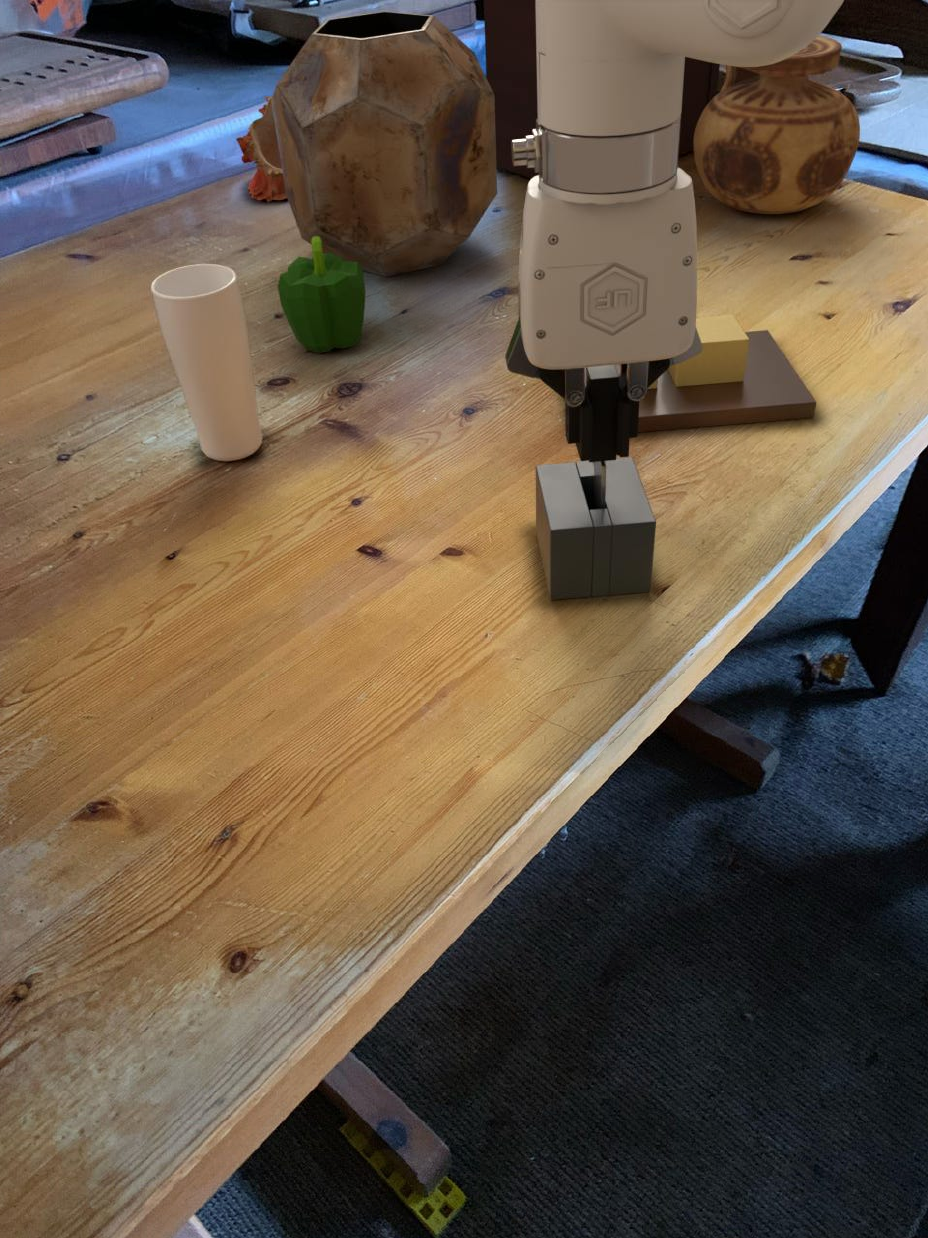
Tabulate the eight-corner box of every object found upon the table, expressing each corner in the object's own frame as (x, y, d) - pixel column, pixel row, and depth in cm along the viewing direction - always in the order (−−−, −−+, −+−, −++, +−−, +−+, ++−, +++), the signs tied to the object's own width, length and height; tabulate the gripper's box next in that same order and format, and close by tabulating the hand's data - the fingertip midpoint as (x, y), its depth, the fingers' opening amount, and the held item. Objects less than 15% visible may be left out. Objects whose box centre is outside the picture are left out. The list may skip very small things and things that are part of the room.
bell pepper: (357, 364, 98) (344, 263, 91) (278, 359, 100) (259, 259, 93) (382, 326, 104) (371, 229, 97) (307, 322, 106) (292, 226, 99)
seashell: (225, 208, 138) (316, 215, 133) (201, 126, 131) (296, 129, 125) (291, 160, 149) (378, 164, 143) (272, 81, 141) (363, 82, 136)
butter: (728, 355, 92) (733, 313, 89) (743, 381, 88) (749, 338, 86) (663, 360, 92) (666, 319, 89) (675, 387, 88) (679, 344, 86)
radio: (711, 147, 142) (743, -167, 119) (575, 196, 130) (581, -142, 107) (614, 122, 153) (626, -169, 130) (481, 165, 141) (468, -147, 118)
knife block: (628, 524, 76) (632, 456, 72) (650, 592, 70) (656, 521, 66) (536, 532, 76) (535, 464, 72) (550, 600, 70) (550, 530, 66)
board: (765, 344, 96) (767, 329, 95) (813, 417, 86) (817, 402, 85) (558, 361, 96) (558, 346, 95) (581, 437, 86) (581, 421, 85)
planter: (532, 236, 120) (530, 8, 105) (403, 313, 106) (378, 61, 90) (391, 206, 131) (369, -6, 115) (256, 271, 117) (212, 40, 101)
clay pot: (892, 167, 123) (895, 5, 107) (801, 268, 119) (790, 115, 103) (760, 137, 134) (745, -15, 118) (673, 228, 130) (645, 85, 114)
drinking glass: (239, 476, 84) (198, 304, 74) (177, 458, 87) (130, 289, 77) (287, 437, 88) (255, 269, 78) (227, 421, 91) (188, 257, 81)
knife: (606, 537, 73) (612, 359, 64) (614, 562, 71) (621, 381, 62) (582, 539, 73) (584, 361, 64) (588, 564, 71) (592, 384, 62)
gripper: (467, 189, 51) (486, 491, 63) (773, 161, 52) (735, 467, 64) (458, 146, 57) (477, 430, 69) (734, 121, 57) (705, 409, 69)
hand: (600, 446), depth 66 cm, fingers closed on knife, 1 cm apart
